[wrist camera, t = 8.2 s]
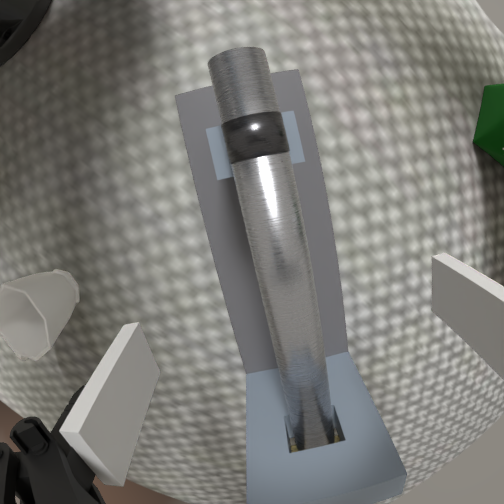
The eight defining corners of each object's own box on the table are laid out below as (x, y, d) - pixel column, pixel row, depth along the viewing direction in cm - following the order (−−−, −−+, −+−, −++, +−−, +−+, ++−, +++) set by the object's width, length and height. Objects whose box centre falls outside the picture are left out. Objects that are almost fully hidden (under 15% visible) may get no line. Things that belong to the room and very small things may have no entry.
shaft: (210, 73, 16) (203, 55, 13) (264, 61, 16) (267, 42, 13) (293, 432, 22) (297, 460, 19) (331, 423, 22) (339, 451, 19)
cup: (101, 280, 27) (59, 317, 19) (74, 351, 29) (39, 394, 21) (47, 242, 26) (-5, 266, 18) (26, 316, 28) (-15, 350, 20)
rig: (177, 97, 23) (88, 17, 8) (296, 72, 23) (357, -35, 7) (263, 425, 32) (271, 548, 16) (350, 406, 31) (393, 520, 16)
